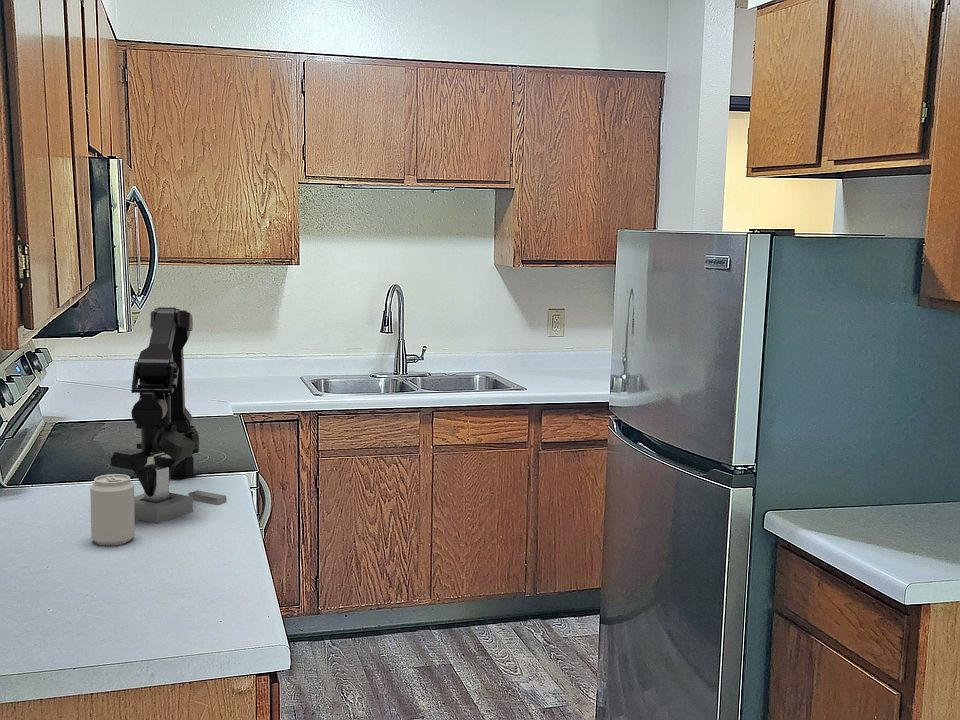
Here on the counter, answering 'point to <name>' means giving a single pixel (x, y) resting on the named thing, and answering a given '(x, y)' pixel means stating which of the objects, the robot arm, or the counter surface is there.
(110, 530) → the can
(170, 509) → the bore block
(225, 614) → the counter surface
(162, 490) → the square bit
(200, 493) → the flat bit
